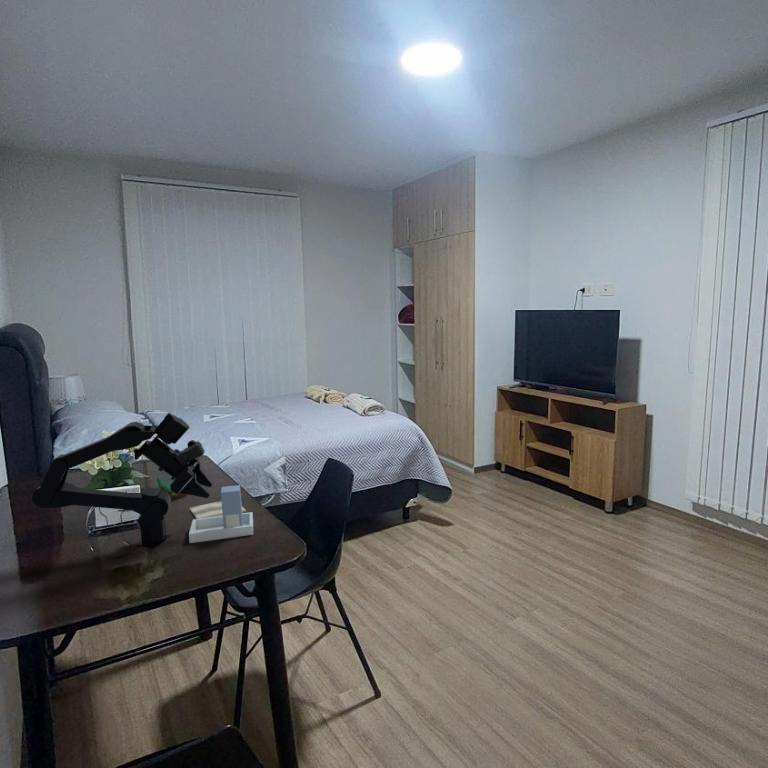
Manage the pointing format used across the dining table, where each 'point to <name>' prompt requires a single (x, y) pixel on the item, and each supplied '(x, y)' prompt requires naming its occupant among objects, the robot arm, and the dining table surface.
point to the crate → (219, 528)
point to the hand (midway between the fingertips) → (210, 491)
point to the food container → (167, 485)
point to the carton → (231, 506)
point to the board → (209, 510)
